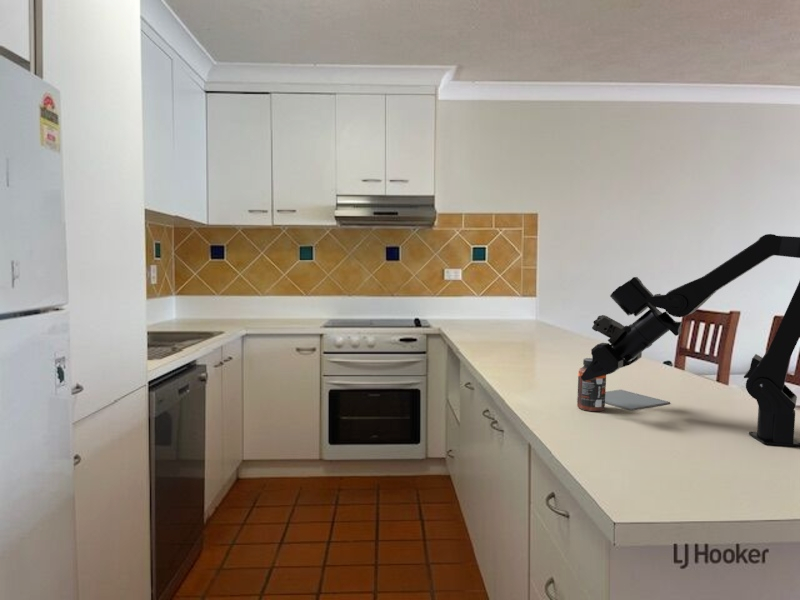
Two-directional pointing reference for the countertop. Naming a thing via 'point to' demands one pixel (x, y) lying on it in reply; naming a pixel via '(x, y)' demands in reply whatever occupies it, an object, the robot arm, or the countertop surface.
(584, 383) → the supplement bottle
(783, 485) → the countertop surface
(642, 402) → the mat
